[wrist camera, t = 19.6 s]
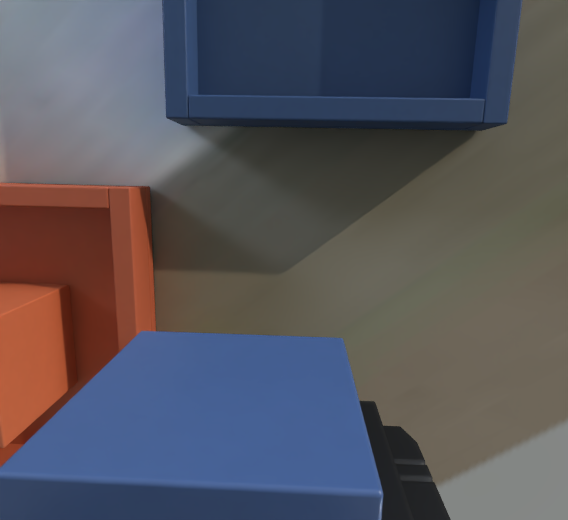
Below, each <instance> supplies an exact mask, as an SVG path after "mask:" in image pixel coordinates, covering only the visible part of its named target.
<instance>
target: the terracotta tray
mask: <svg viewBox="0 0 568 520" xmlns="http://www.w3.org/2000/svg"><path fill="white" fill-rule="evenodd" d="M0 282H16V283H43V284H68V285H69V287H70V299H71V311H72V323H73V335H74V347H75V359H76V371H77V383H76V384H75V385H74V386H73V387H72V388H71V389H70V390H69V391H67V392H66V393H65V394H64V395H63V396H62V397H61V398H60V399H58V400H57V401H56V402H55V403H54V404H53V405H52V406H51V407H50V408H48V409H47V410H46V411H45V412H44V413H43V414H42V415H41V416H39V417H38V418H37V419H36V420H35V421H34V422H33V423H32V424H31V425H29V426H28V427H27V428H26V429H25V430H24V431H23V432H22V433H20V434H19V435H18V436H17V437H16V438H15V439H14V440H13V441H11V442H10V443H9V444H8V445H7V446H6V447H4V448H0V467H1V466H2V465H3V464H4V463H5V462H6V461H7V460H8V459H9V458H10V457H11V456H12V455H13V454H14V453H15V452H16V451H17V450H18V449H19V448H21V447H22V446H23V445H24V444H25V443H26V442H27V441H28V440H29V439H30V438H31V437H32V436H33V435H34V434H35V433H36V432H37V431H38V430H39V429H40V428H41V427H42V426H43V425H44V424H45V423H46V422H47V421H48V420H49V419H51V418H52V417H53V416H54V415H55V414H56V413H57V412H58V411H59V410H60V409H61V408H62V407H63V406H64V405H65V404H66V403H67V402H68V401H69V400H70V399H71V398H72V397H73V396H74V395H75V394H76V393H77V392H78V391H80V390H81V389H82V388H83V387H84V386H85V385H86V384H87V383H88V382H89V381H90V380H91V379H92V378H93V377H94V376H95V375H96V374H97V373H98V372H99V371H100V370H101V369H102V368H103V367H104V366H105V365H106V364H107V363H108V362H110V361H111V360H112V359H113V358H114V357H115V356H116V355H117V354H118V353H119V352H120V351H121V350H122V349H123V348H124V347H125V346H126V345H127V344H128V343H129V342H130V341H131V340H132V339H133V338H134V337H135V336H136V335H137V334H138V333H140V332H141V331H156V323H155V299H154V275H153V251H152V227H151V203H150V187H149V186H109V185H68V184H26V183H0Z"/></svg>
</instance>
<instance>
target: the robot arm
mask: <svg viewBox="0 0 568 520" xmlns="http://www.w3.org/2000/svg"><path fill="white" fill-rule="evenodd" d="M359 402H360V406H361V410H362V413H363V417H364V421H365V425H366V429H367V433H368V436H369V440H370V444H371V448H372V452H373V456H374V460H375V463H376V467H377V471H378V475H379V479H380V483H381V486H382V490H383V506H382V518H381V520H450V517H449V515H448V513H447V511H446V508H445V506H444V504H443V501H442V499H441V497H440V494H439V492H438V490H437V488H436V485H435V483H434V482H433V481H432V476H431V474H430V471H429V469H428V467H427V465H425V460H424V458H423V455H422V453H421V451H420V449H419V446H418V444H417V442H416V441H415V440H414V439H413V438H412V437H411V436H410V435H408V434H407V433H406V432H405V431H404V430H403V429H402V428H401V427H399V426H383V425H382V422H381V419H380V416H379V413H378V409H377V406H376V404H375V402H374V401H359Z"/></svg>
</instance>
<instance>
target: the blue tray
mask: <svg viewBox="0 0 568 520" xmlns="http://www.w3.org/2000/svg"><path fill="white" fill-rule="evenodd" d="M162 6H163V36H164V67H165V97H166V117H167V118H168V119H170V120H172V121H175V122H177V123H179V124H181V125H185V126H243V127H302V128H360V129H418V130H477V131H482V130H485V129H489V128H493V127H496V126H500V125H504V124H507V119H508V111H509V103H510V95H511V87H512V79H513V71H514V63H515V55H516V47H517V39H518V31H519V23H520V15H521V7H522V0H162Z"/></svg>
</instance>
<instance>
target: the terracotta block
mask: <svg viewBox="0 0 568 520" xmlns="http://www.w3.org/2000/svg"><path fill="white" fill-rule="evenodd" d="M76 383H77V371H76V359H75V347H74V335H73V323H72V311H71V299H70V287H69V285H68V284H43V283H16V282H0V448H4V447H6V446H7V445H8V444H9V443H10V442H11V441H13V440H14V439H15V438H16V437H17V436H18V435H19V434H20V433H22V432H23V431H24V430H25V429H26V428H27V427H28V426H29V425H31V424H32V423H33V422H34V421H35V420H36V419H37V418H38V417H39V416H41V415H42V414H43V413H44V412H45V411H46V410H47V409H48V408H50V407H51V406H52V405H53V404H54V403H55V402H56V401H57V400H58V399H60V398H61V397H62V396H63V395H64V394H65V393H66V392H67V391H69V390H70V389H71V388H72V387H73V386H74V385H75V384H76Z"/></svg>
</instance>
